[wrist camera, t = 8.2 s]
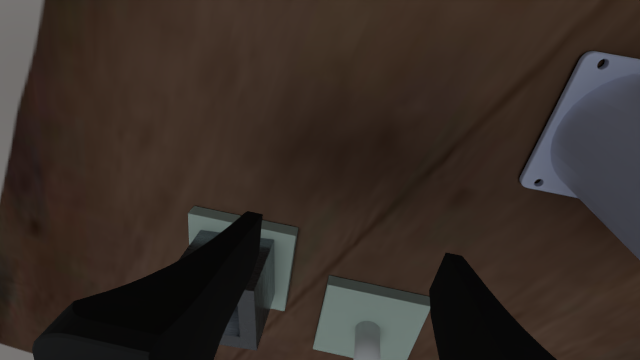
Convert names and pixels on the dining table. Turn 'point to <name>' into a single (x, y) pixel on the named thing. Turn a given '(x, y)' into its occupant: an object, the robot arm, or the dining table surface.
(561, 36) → the dining table surface
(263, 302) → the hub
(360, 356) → the square peg board
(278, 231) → the square peg base
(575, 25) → the dining table surface
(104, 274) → the dining table surface
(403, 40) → the dining table surface
